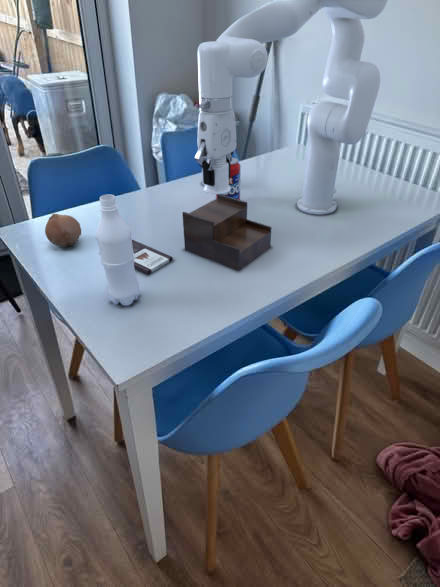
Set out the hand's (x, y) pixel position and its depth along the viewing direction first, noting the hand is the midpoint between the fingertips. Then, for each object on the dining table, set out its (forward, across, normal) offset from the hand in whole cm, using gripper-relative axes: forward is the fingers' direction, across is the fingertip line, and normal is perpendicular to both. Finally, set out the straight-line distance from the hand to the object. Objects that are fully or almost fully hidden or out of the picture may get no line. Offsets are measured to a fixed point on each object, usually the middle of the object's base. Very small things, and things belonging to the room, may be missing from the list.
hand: (217, 180), depth 107 cm
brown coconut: (+19, -25, +35) cm, 47 cm away
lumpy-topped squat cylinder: (+19, +36, +26) cm, 49 cm away
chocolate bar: (+19, -18, +14) cm, 29 cm away
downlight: (+3, 0, 0) cm, 3 cm away
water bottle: (+19, -33, +2) cm, 38 cm away
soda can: (+19, +23, +14) cm, 33 cm away
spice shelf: (+19, 0, -3) cm, 19 cm away
